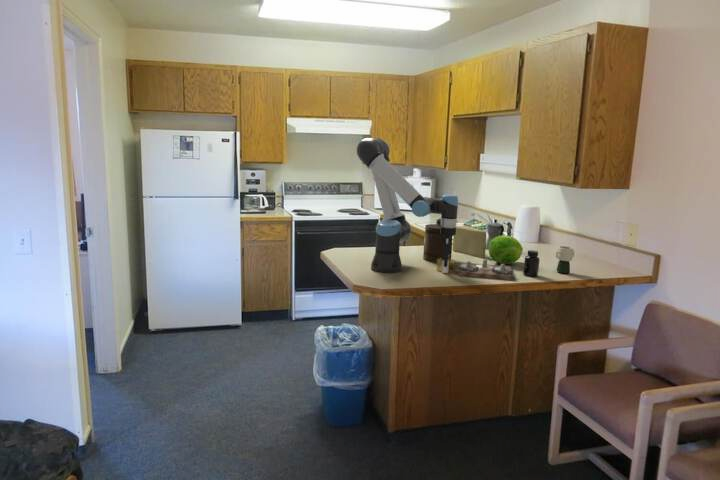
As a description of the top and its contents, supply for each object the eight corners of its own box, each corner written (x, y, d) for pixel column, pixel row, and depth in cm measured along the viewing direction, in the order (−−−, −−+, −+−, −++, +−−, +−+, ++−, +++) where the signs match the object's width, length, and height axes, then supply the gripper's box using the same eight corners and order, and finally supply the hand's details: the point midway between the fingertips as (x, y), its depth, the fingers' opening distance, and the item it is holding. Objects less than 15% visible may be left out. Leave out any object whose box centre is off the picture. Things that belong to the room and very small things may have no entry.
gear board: (457, 275, 243) (458, 263, 242) (457, 265, 263) (458, 254, 261) (513, 280, 238) (515, 267, 237) (510, 270, 258) (511, 258, 257)
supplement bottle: (520, 274, 249) (522, 250, 247) (527, 272, 254) (529, 249, 252) (533, 277, 245) (536, 253, 242) (540, 275, 249) (543, 251, 247)
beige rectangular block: (490, 257, 285) (493, 231, 282) (477, 259, 280) (479, 232, 277) (464, 249, 304) (466, 224, 301) (451, 250, 299) (453, 225, 296)
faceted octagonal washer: (436, 271, 250) (436, 261, 249) (436, 267, 258) (437, 257, 257) (453, 272, 248) (454, 262, 247) (453, 268, 256) (454, 259, 255)
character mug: (566, 270, 262) (569, 245, 259) (576, 274, 255) (579, 248, 253) (549, 271, 258) (552, 246, 256) (558, 275, 252) (562, 249, 249)
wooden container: (437, 255, 285) (439, 216, 281) (456, 260, 274) (459, 220, 269) (417, 258, 277) (419, 217, 272) (436, 264, 265) (439, 222, 261)
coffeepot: (480, 247, 312) (482, 218, 309) (493, 246, 316) (496, 217, 312) (494, 252, 298) (497, 222, 295) (508, 252, 301) (511, 221, 298)
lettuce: (527, 269, 271) (535, 241, 267) (500, 268, 261) (507, 240, 257) (505, 258, 285) (512, 232, 281) (478, 258, 275) (485, 231, 271)
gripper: (455, 231, 236) (452, 276, 240) (456, 223, 260) (453, 264, 264) (439, 230, 238) (436, 275, 242) (441, 222, 261) (438, 263, 265)
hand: (445, 269), depth 253 cm, fingers open, 12 cm apart
